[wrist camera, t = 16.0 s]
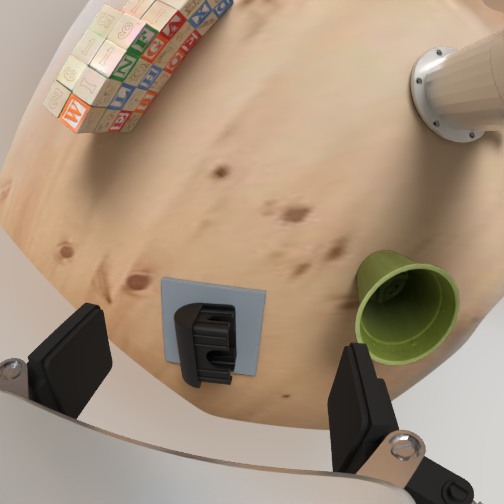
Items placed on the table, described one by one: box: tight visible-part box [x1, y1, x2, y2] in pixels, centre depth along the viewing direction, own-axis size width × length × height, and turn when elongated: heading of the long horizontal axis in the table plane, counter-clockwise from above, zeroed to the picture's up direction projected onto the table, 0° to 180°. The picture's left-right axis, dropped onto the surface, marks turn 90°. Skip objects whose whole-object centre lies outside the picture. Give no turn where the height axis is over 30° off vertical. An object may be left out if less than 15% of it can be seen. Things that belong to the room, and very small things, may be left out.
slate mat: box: [161, 277, 266, 376], centre depth 44 cm, size 14×14×1 cm
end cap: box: [174, 302, 237, 388], centre depth 40 cm, size 10×7×7 cm
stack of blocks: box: [43, 0, 233, 134], centre depth 27 cm, size 21×6×12 cm, turn 141°
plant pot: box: [355, 251, 460, 365], centre depth 34 cm, size 12×12×11 cm
